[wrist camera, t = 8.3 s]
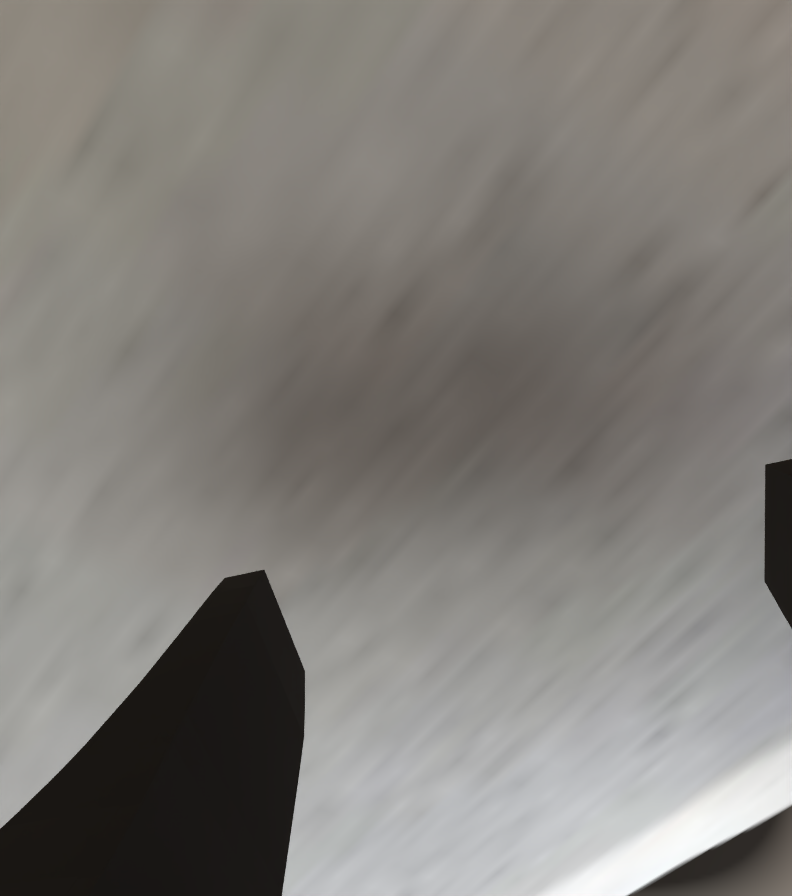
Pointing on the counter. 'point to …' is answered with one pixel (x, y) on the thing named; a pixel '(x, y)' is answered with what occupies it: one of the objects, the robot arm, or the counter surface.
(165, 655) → the robot arm
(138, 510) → the counter surface
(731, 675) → the counter surface
